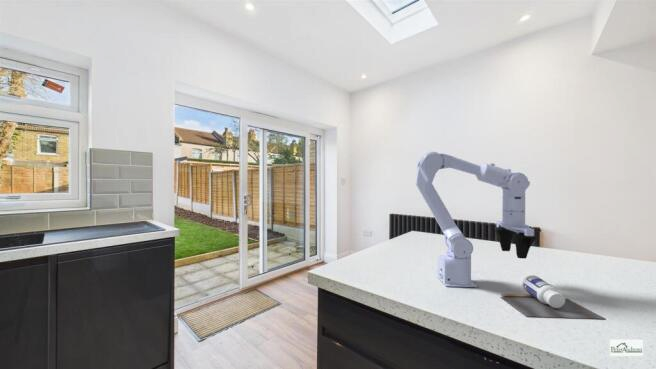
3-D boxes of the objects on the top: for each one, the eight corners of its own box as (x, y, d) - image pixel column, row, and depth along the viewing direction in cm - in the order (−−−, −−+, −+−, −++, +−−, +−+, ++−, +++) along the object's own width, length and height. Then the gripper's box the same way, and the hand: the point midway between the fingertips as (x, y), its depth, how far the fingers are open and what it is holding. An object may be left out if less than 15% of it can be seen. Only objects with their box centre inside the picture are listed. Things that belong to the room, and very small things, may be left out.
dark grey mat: (526, 316, 61) (526, 314, 61) (497, 295, 72) (497, 293, 72) (605, 319, 59) (605, 316, 59) (563, 297, 71) (563, 295, 71)
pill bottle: (535, 294, 72) (561, 313, 64) (518, 287, 72) (542, 306, 64) (543, 278, 72) (571, 296, 63) (526, 272, 72) (552, 288, 63)
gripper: (545, 214, 70) (545, 262, 70) (512, 208, 84) (511, 248, 84) (518, 213, 70) (518, 261, 71) (490, 208, 85) (490, 247, 85)
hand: (513, 254), depth 78 cm, fingers open, 7 cm apart
